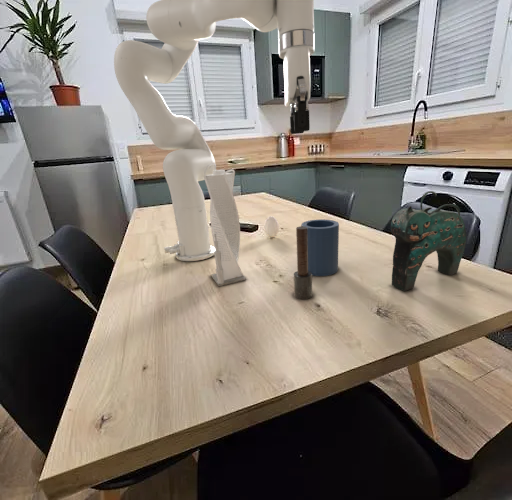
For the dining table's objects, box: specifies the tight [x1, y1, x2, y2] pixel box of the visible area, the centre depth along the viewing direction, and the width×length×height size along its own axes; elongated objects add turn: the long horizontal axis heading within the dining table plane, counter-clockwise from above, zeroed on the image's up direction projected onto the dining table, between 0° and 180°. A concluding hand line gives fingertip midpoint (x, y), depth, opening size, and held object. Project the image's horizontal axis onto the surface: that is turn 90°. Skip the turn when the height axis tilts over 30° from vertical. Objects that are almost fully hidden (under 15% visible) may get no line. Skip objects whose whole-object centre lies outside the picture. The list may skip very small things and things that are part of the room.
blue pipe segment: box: [300, 218, 340, 277], centre depth 74 cm, size 9×9×12 cm
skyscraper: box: [204, 162, 247, 287], centre depth 71 cm, size 8×8×28 cm
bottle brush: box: [293, 225, 313, 300], centre depth 61 cm, size 4×4×15 cm
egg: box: [263, 215, 280, 238], centre depth 105 cm, size 5×5×8 cm
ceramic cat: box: [390, 190, 467, 292], centre depth 63 cm, size 20×6×20 cm, turn 114°
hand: (299, 132), depth 69 cm, fingers open, 9 cm apart
